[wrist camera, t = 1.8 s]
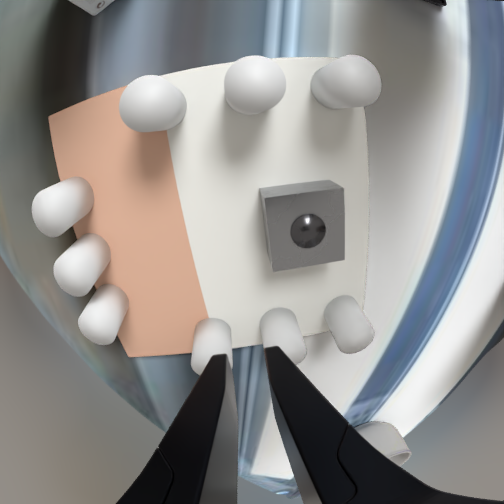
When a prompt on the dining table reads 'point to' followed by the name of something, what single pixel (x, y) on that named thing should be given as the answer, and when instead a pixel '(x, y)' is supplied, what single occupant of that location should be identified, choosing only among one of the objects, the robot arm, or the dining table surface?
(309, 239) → the nut
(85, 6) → the skincare box
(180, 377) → the dining table surface
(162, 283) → the board
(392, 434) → the teacup
